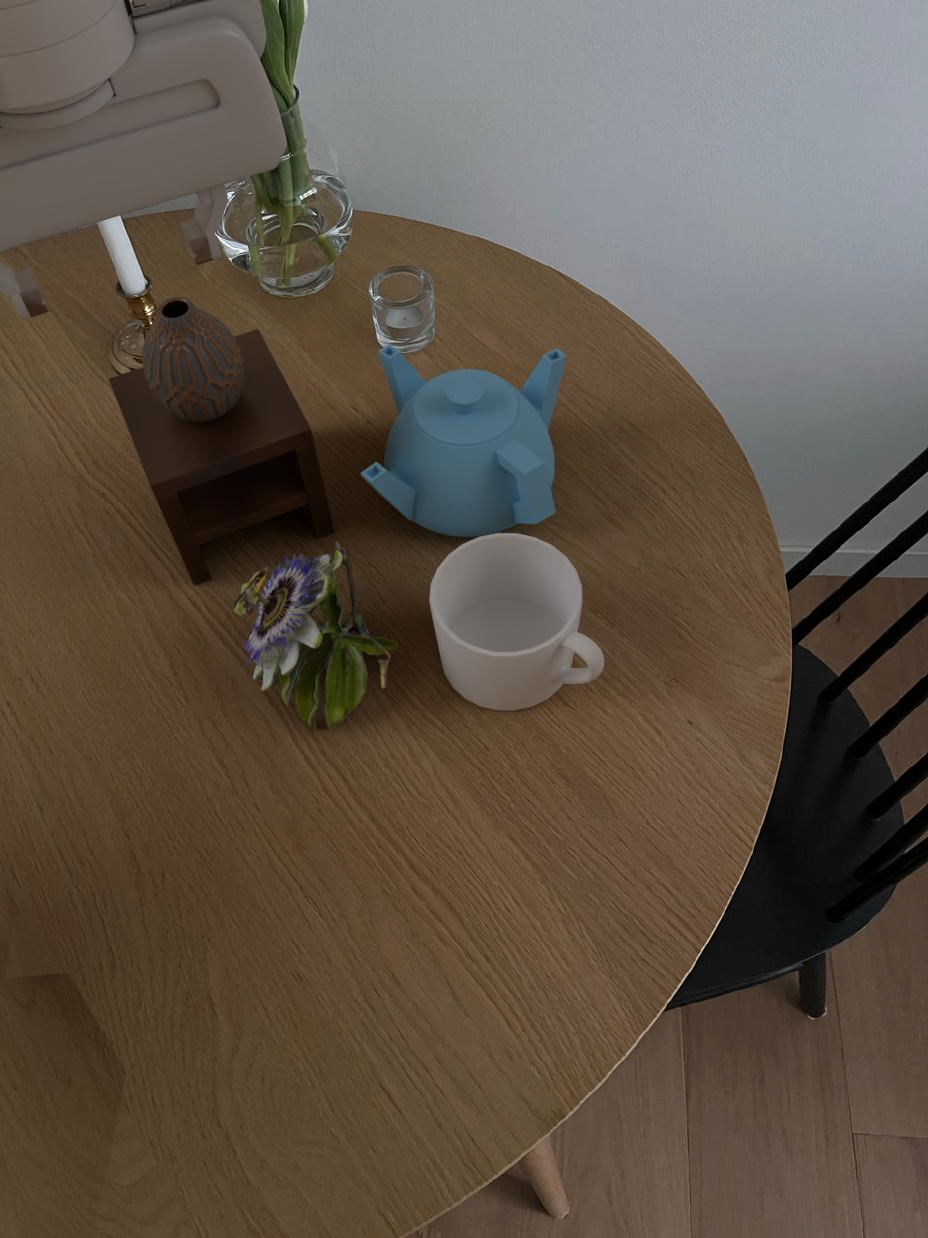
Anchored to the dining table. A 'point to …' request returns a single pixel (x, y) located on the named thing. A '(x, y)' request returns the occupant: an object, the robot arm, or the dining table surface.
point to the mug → (510, 621)
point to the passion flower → (310, 636)
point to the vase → (192, 362)
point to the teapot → (469, 447)
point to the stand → (227, 457)
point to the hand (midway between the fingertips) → (120, 282)
